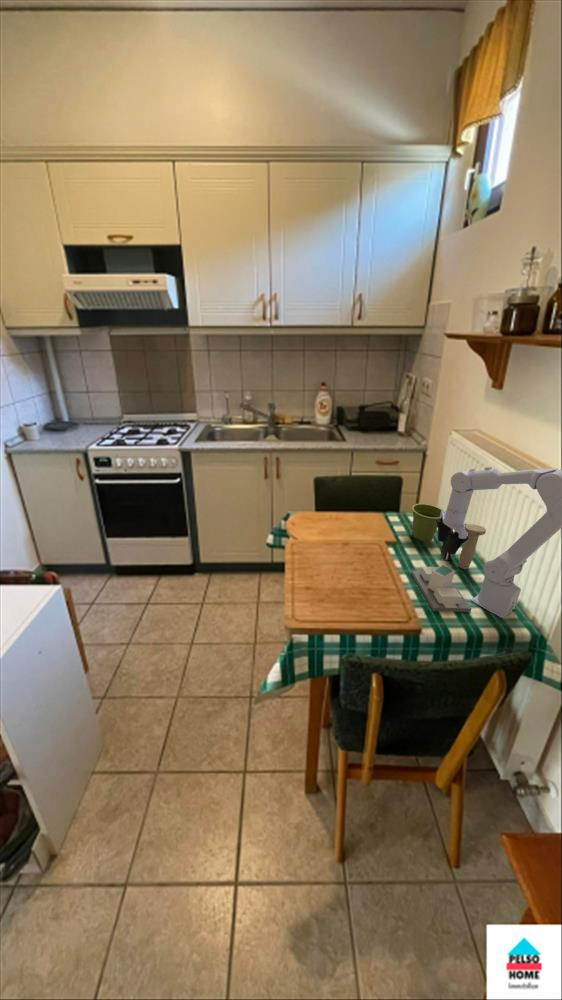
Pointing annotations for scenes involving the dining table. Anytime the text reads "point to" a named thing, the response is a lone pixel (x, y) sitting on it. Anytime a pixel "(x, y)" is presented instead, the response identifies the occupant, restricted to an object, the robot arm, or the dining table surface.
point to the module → (441, 578)
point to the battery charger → (446, 548)
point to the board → (432, 598)
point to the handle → (470, 544)
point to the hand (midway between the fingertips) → (446, 547)
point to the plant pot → (425, 521)
